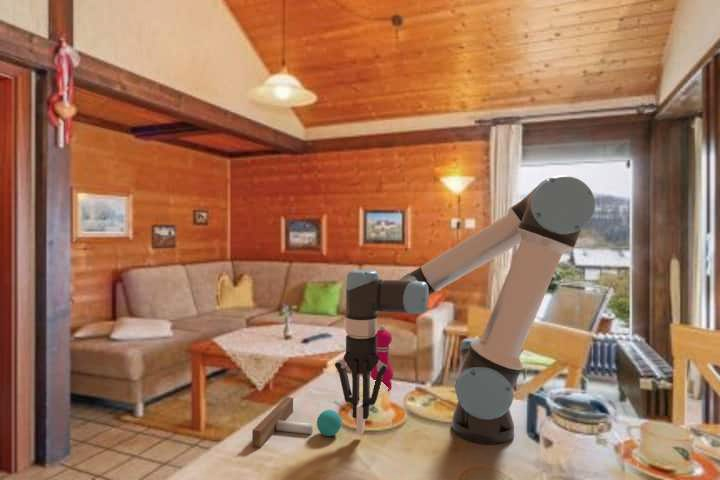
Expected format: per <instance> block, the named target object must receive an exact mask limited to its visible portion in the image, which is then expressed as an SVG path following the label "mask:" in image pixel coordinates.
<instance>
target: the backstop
mask: <svg viewBox="0 0 720 480" xmlns="http://www.w3.org/2000/svg"><path fill="white" fill-rule="evenodd" d="M293 413H294V397H288V396H285V398H284V399H283V400H281V402H280V403H278V405H277V406H275V407H274V408H273V409H272V411H270V412H269V413H268V414H267V415H266V416H265V417H264V418H263V419H262V420H261V421H260V422H259V423H258V424H257V425H256V426H255V427H254V428H253V429H252V430H251V431H252V448H256V449H261V448H262V447H263V446H264V445H265V444H266V443H267V442H268V440H270V438H271V437H272V436H273V435H274V434H275V433H276V431H277V430H276V424H277V421H278V420H280V421H287V419H288V418H289V417H290V416H292V414H293Z"/></svg>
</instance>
